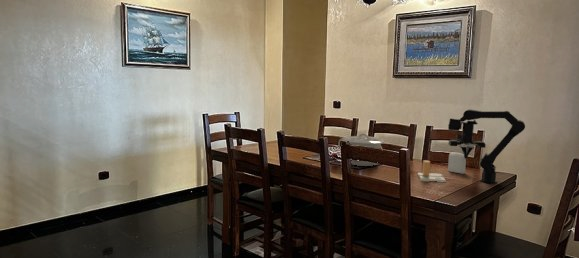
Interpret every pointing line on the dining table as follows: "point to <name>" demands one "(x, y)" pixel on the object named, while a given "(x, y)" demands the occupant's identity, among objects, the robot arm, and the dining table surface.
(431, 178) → the switch panel
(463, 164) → the photo printer
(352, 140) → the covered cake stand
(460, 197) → the dining table surface
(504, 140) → the robot arm
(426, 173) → the switch knob
